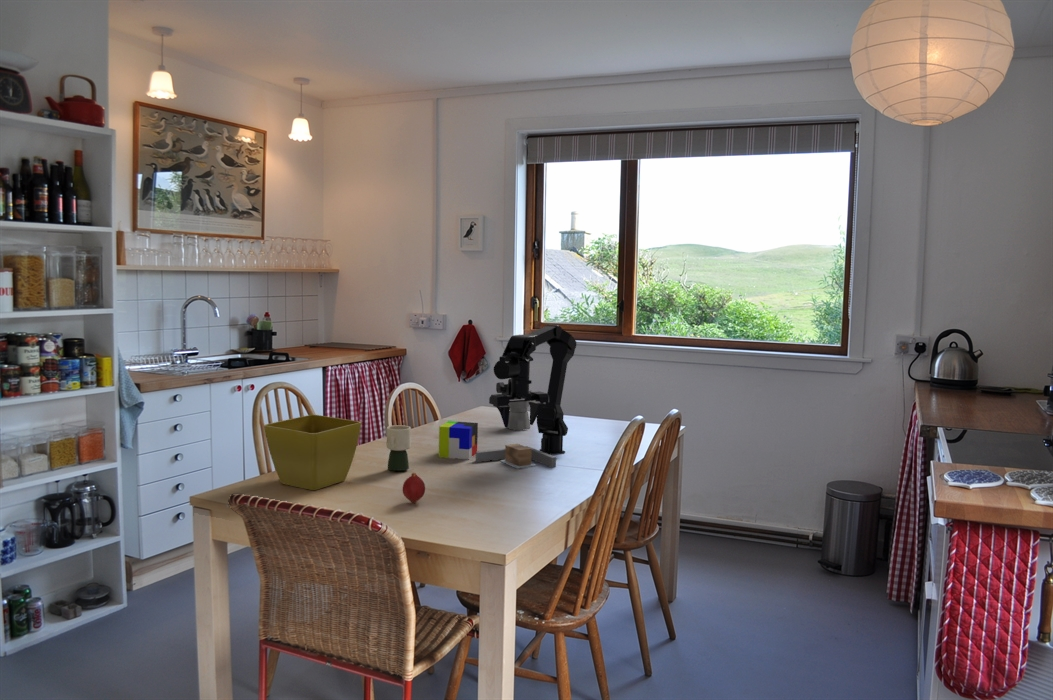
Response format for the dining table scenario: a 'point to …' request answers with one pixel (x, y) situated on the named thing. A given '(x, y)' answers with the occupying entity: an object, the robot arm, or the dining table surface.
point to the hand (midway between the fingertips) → (518, 426)
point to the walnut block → (518, 454)
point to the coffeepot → (519, 415)
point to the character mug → (398, 446)
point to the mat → (516, 465)
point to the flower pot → (312, 449)
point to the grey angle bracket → (500, 454)
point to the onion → (413, 488)
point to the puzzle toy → (458, 439)
